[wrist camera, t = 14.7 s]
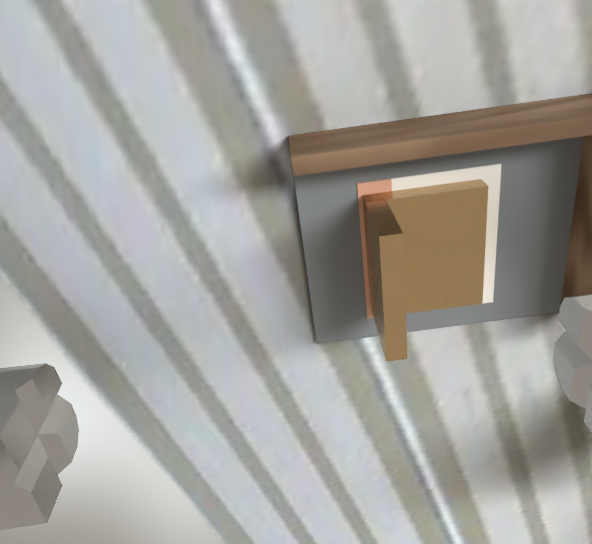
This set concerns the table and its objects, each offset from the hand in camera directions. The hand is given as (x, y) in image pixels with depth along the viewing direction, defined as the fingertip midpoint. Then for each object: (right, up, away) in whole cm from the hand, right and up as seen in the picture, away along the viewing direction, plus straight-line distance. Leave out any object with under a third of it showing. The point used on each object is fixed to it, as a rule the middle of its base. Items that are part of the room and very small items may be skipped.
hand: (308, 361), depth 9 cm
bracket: (+10, +3, +34) cm, 35 cm away
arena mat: (+11, +5, +34) cm, 36 cm away
